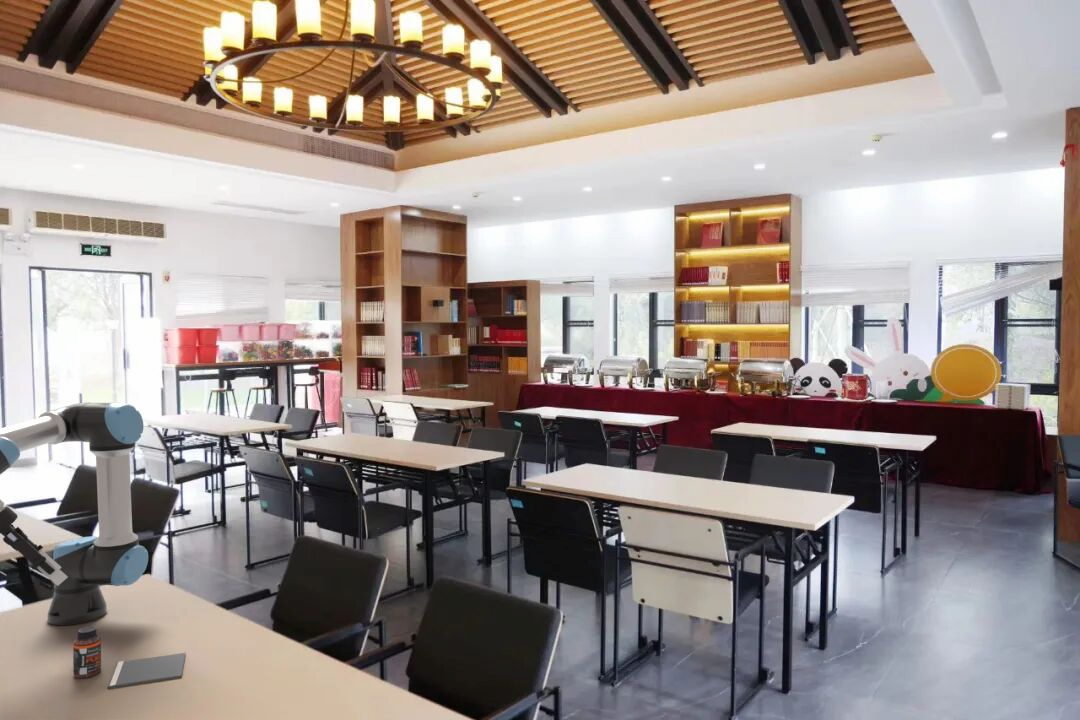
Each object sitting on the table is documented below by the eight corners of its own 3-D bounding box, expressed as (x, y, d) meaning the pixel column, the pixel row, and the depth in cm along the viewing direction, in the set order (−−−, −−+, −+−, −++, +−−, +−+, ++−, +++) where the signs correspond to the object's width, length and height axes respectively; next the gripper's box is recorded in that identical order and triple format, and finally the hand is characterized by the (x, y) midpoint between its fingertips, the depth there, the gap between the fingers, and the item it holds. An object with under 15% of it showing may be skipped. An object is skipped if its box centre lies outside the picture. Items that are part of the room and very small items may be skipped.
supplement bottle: (88, 680, 183) (87, 634, 183) (67, 678, 185) (66, 632, 184) (107, 669, 189) (106, 625, 189) (86, 667, 190) (85, 623, 190)
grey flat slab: (116, 664, 192) (116, 662, 192) (185, 654, 198) (185, 652, 198) (107, 688, 179) (107, 685, 179) (181, 677, 185) (181, 674, 185)
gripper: (-26, 522, 184) (40, 578, 192) (-23, 535, 165) (50, 598, 172) (3, 499, 188) (67, 556, 196) (9, 510, 168) (79, 573, 176)
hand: (59, 576), depth 184 cm, fingers open, 13 cm apart
